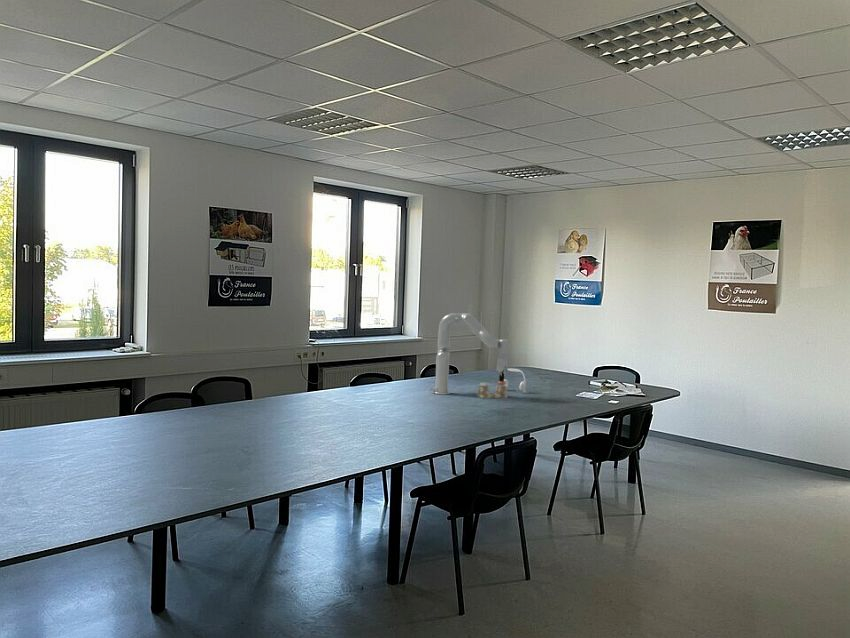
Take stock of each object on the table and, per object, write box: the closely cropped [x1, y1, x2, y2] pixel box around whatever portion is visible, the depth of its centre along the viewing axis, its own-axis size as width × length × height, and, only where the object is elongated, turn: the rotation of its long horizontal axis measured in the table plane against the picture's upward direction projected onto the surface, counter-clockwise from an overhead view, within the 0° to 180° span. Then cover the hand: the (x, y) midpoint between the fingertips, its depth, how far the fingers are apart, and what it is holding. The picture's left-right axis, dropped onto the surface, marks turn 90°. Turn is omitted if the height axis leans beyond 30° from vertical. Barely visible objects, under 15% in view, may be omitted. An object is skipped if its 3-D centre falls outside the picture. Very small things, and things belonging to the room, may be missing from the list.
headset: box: [504, 368, 527, 394], centre depth 492 cm, size 20×7×18 cm, turn 53°
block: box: [476, 385, 509, 399], centre depth 466 cm, size 20×10×8 cm, turn 107°
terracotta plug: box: [497, 380, 505, 387], centre depth 468 cm, size 5×5×8 cm
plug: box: [479, 382, 489, 387], centre depth 464 cm, size 5×5×8 cm
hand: (501, 380), depth 468 cm, fingers closed
